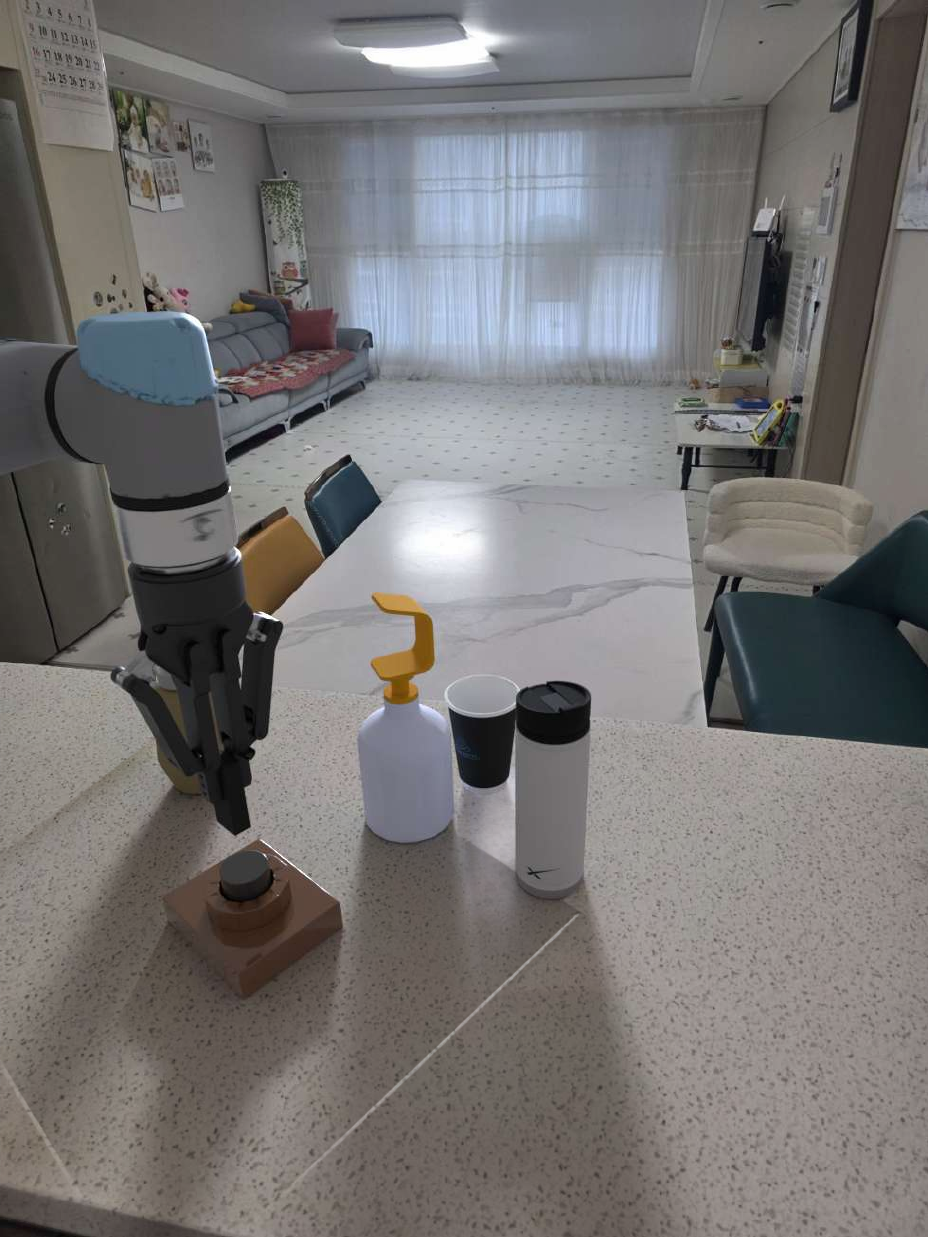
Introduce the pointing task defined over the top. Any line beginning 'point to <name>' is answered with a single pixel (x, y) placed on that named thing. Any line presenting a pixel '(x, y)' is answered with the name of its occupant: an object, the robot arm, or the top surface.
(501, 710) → the dixie cup
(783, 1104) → the top surface
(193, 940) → the button base
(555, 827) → the travel mug
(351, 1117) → the top surface
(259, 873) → the grey button cap
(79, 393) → the robot arm
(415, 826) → the soap bottle
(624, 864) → the top surface
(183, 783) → the squeeze bottle
